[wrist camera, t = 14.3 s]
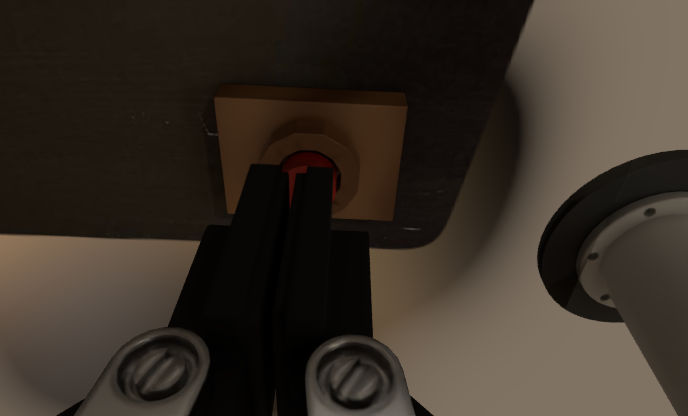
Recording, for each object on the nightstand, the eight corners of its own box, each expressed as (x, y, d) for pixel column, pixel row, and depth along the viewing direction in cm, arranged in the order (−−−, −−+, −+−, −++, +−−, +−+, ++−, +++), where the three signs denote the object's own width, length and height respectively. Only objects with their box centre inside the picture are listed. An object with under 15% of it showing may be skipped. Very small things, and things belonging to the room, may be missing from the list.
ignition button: (337, 152, 31) (336, 167, 29) (335, 199, 33) (334, 215, 31) (280, 150, 30) (276, 164, 29) (282, 197, 33) (278, 212, 31)
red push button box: (404, 92, 32) (410, 119, 29) (390, 203, 37) (394, 237, 34) (220, 83, 32) (206, 109, 28) (233, 196, 37) (222, 229, 34)
